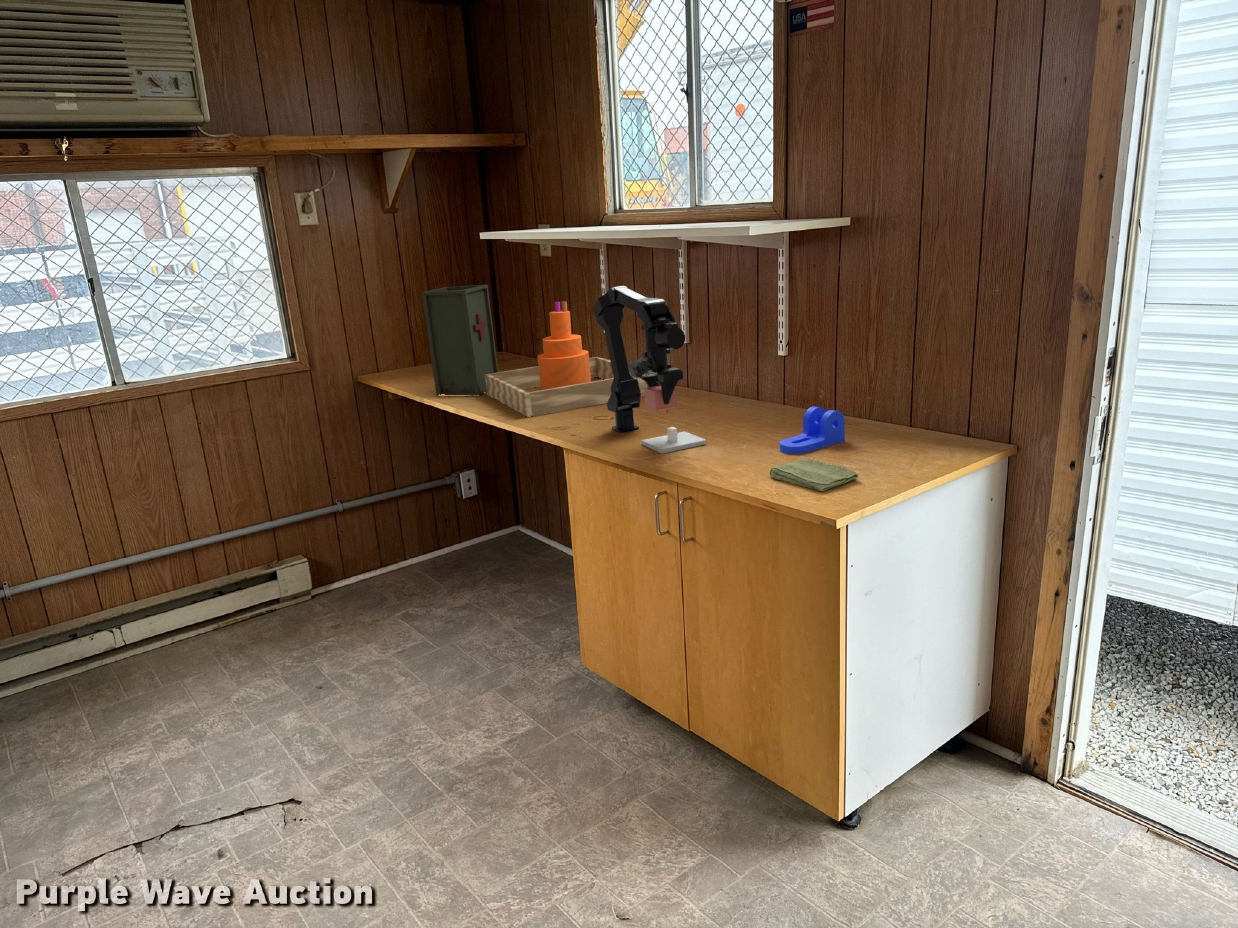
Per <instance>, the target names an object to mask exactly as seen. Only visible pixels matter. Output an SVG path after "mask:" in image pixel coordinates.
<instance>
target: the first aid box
mask: <svg viewBox="0 0 1238 928" xmlns="http://www.w3.org/2000/svg"><path fill="white" fill-rule="evenodd" d="M488 285H489V284H481V285H480V284H479V285H475V284H474V285H461V286H444V287H441V288H437V289H431V290H428V291H427V290H426V291H422V292H421V300H422V307H423V312H424V321H425V325H426V333H427V339H428V347H429V353H430V360H431V361H430V362H431V368H432V374H433V375H432V376H433V380H434V387H435V395H439V394H440V395H441V394H445V395H481V394H482V393H484V392H487V389H486V381H485V374H491V373H498V372H499V365H498V358H497V357H498V356H497V350H496V349H497V348H496V344H495V333H494V326H493V317H492V309H491V302H490V295H489V286H488ZM481 396H482V395H481Z"/></svg>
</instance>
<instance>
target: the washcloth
mask: <svg viewBox="0 0 1238 928" xmlns="http://www.w3.org/2000/svg"><path fill="white" fill-rule="evenodd" d="M769 476H770V477H771V478H772V479H775V480H778V481H781V482H783V483H788V484H791V485H795V486H800V487H803V488H808V489H811V490H815V491H816V492H822V493H823V492H826V491H828V490H830V489H832V488H836V487H838V486H841V485H842V486H843V485H844V484H846V483H848V482H850V481H853V480H856V479H857V478H859V474H858V473H857V472H856V471H854V470H851V469H850V468H848V467H845V466H842V465H841V466H840V465H836V464H831V463H826V462H823V461H820V460H817V459H812V458H802V459H797V460H793V461H792V462H790V463H786V464H785V463H783V464H780V465H776V466H773V467H772V468H771V469H770V470H769Z"/></svg>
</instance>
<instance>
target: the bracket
mask: <svg viewBox="0 0 1238 928" xmlns="http://www.w3.org/2000/svg"><path fill="white" fill-rule="evenodd" d="M845 424H846V421H845V417H844V414H843V413H842V412H841V411H838V410H834V409H829V410H827V411H826V410H825V409H824V408H822V407H819V406H814V405H813V406H811V407H809V408H807V410H806V411H805V412H804V415H803V419H802V432H801V434H798V435H794V436H791V437H788V438H785V439H781V440H780V441H779V444H778V445H779V451H780V452H782V453H784V454H791V455H792V454H793V455H797V454H798V455H800V454H805V453H809V452H812V451H816V450H819V449H823V448H826V447H829V446H832V445H836V444H840V443H843V442H845V438H846V437H845V436H846V427H845V426H846V425H845Z"/></svg>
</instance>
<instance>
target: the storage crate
mask: <svg viewBox="0 0 1238 928" xmlns="http://www.w3.org/2000/svg"><path fill="white" fill-rule="evenodd" d="M589 365H590V376H591V379H593V378H592V377H596V376H598V377H599V378H598V379H599V380H594V381H591V382H587V383H581V384H576V385H570V386H564V387H558V388H552V389H546V390H541V389H540V390H535V391H530V392H527V391H526V390H530V389H535V388H534V387H538V388H541V384H540V375H539V366H537V365H536V366H530V367H524V368H518V369H517V368H516V369H512V370H511V369H510V370H506V371H498V373H491V374H485V381H486V389H487V393H486V395H487V396H488V395H489V396H488V397H490V396H492V397H493V398H495V399H497V400H498V401H497V400H496V401H497V402H499V401H500V402H499V403H501V402H502V403H501V404H503V405H504V404H506V405H507V406H506V405H505V406H506V407H508V406H509V407H508V408H510V407H511V408H510V409H512V410H514V411H515V410H516V411H515V412H517V413H520V414H521V413H522V415H523V416H525V417H526V416H527V417H526V418H531V416H533V417H538V416H543V415H549V414H548V413H550V414H553V413H561V412H565V411H572V410H577V409H582V408H587V407H592V406H597V405H604V404H607V402H608V400H609V398H610V396H611V385H612V382H613V379H614V376H613V371H612V366H611V361H610V359H606V358H602V357H599V356H594V357H589ZM629 372H630V371H629ZM630 375H631V374H630ZM600 378H602V379H600ZM633 378H634V379H637V380H638V383H639V388H640V391H641V398H642V397H645V392H644V388H648V385H647V383H646V382H645V381H644V380H642V379H641V378H640V377H639V378H636V377H634V376H633ZM603 379H604V380H603ZM525 389H526V390H525ZM492 397H491V398H492ZM493 398H492V399H493ZM495 399H494V400H495Z"/></svg>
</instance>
